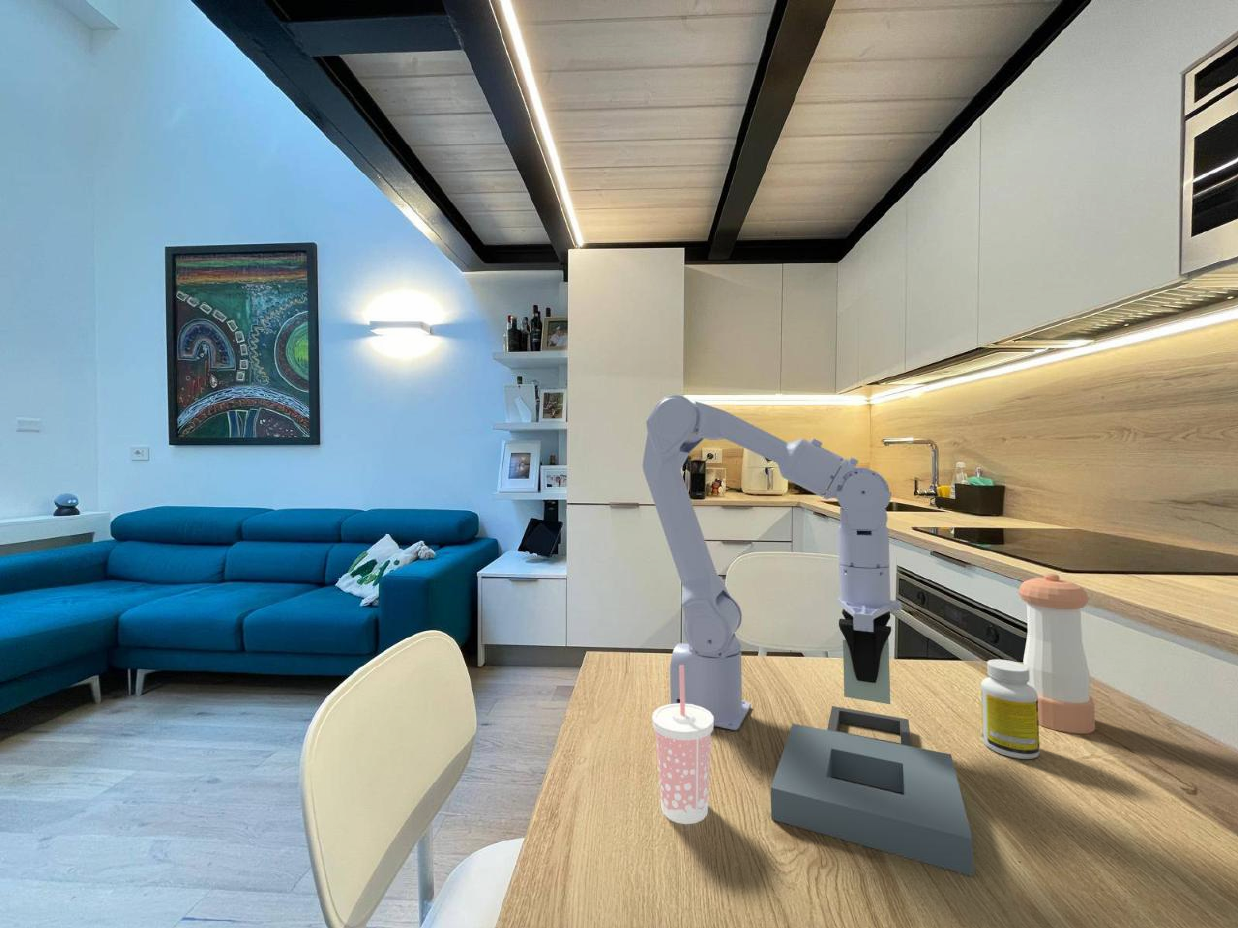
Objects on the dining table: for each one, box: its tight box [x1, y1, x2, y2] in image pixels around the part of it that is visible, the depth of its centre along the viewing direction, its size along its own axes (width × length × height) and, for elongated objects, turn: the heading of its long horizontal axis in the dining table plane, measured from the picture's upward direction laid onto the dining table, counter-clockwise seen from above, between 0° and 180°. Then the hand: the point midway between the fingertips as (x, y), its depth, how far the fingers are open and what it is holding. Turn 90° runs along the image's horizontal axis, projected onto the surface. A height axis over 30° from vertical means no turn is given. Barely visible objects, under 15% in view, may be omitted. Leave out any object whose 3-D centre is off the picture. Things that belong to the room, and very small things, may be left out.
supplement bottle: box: [980, 659, 1040, 760], centre depth 61 cm, size 5×5×10 cm
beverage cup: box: [651, 665, 715, 825], centre depth 51 cm, size 6×6×14 cm
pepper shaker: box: [1018, 572, 1096, 735], centre depth 67 cm, size 7×7×19 cm
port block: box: [770, 723, 975, 878], centre depth 51 cm, size 16×14×3 cm
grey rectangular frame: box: [826, 705, 913, 747], centre depth 63 cm, size 9×8×2 cm
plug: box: [842, 636, 891, 705], centre depth 64 cm, size 5×4×8 cm
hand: (866, 674), depth 63 cm, fingers closed on plug, 4 cm apart
